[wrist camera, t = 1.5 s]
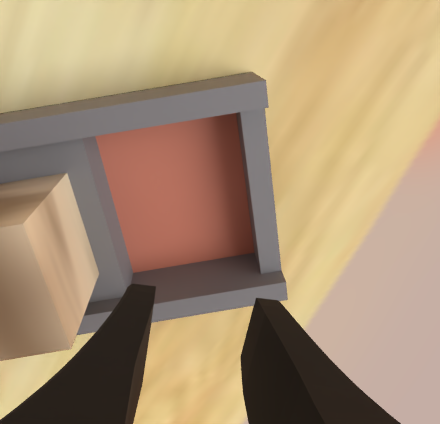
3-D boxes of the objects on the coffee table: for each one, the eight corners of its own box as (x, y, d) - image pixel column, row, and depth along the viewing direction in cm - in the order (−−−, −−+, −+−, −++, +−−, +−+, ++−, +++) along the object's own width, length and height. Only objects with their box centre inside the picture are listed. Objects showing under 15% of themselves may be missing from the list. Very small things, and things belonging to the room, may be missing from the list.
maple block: (-7, 291, 19) (-68, 372, 15) (-52, 192, 17) (-140, 250, 13) (99, 273, 19) (71, 349, 15) (67, 172, 17) (22, 224, 13)
